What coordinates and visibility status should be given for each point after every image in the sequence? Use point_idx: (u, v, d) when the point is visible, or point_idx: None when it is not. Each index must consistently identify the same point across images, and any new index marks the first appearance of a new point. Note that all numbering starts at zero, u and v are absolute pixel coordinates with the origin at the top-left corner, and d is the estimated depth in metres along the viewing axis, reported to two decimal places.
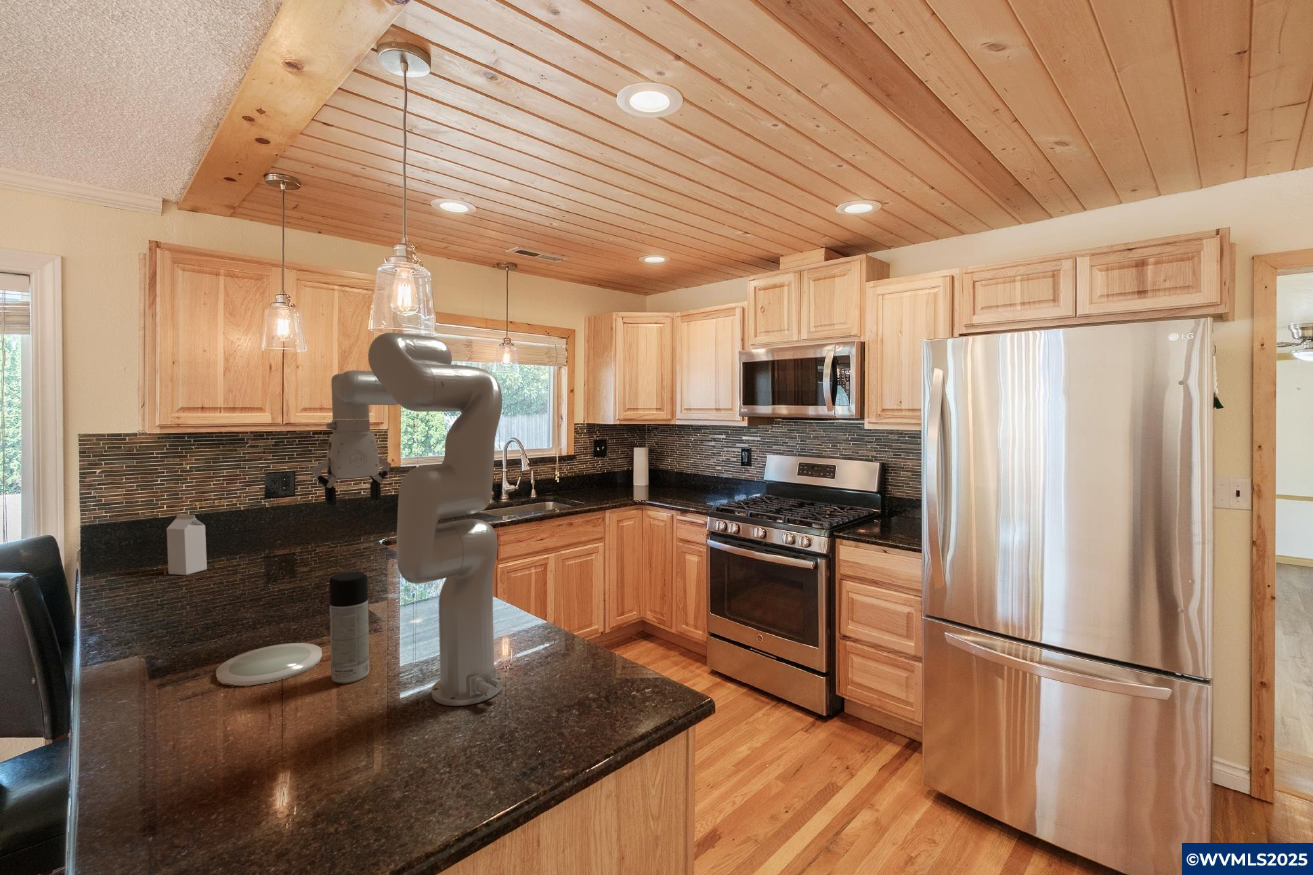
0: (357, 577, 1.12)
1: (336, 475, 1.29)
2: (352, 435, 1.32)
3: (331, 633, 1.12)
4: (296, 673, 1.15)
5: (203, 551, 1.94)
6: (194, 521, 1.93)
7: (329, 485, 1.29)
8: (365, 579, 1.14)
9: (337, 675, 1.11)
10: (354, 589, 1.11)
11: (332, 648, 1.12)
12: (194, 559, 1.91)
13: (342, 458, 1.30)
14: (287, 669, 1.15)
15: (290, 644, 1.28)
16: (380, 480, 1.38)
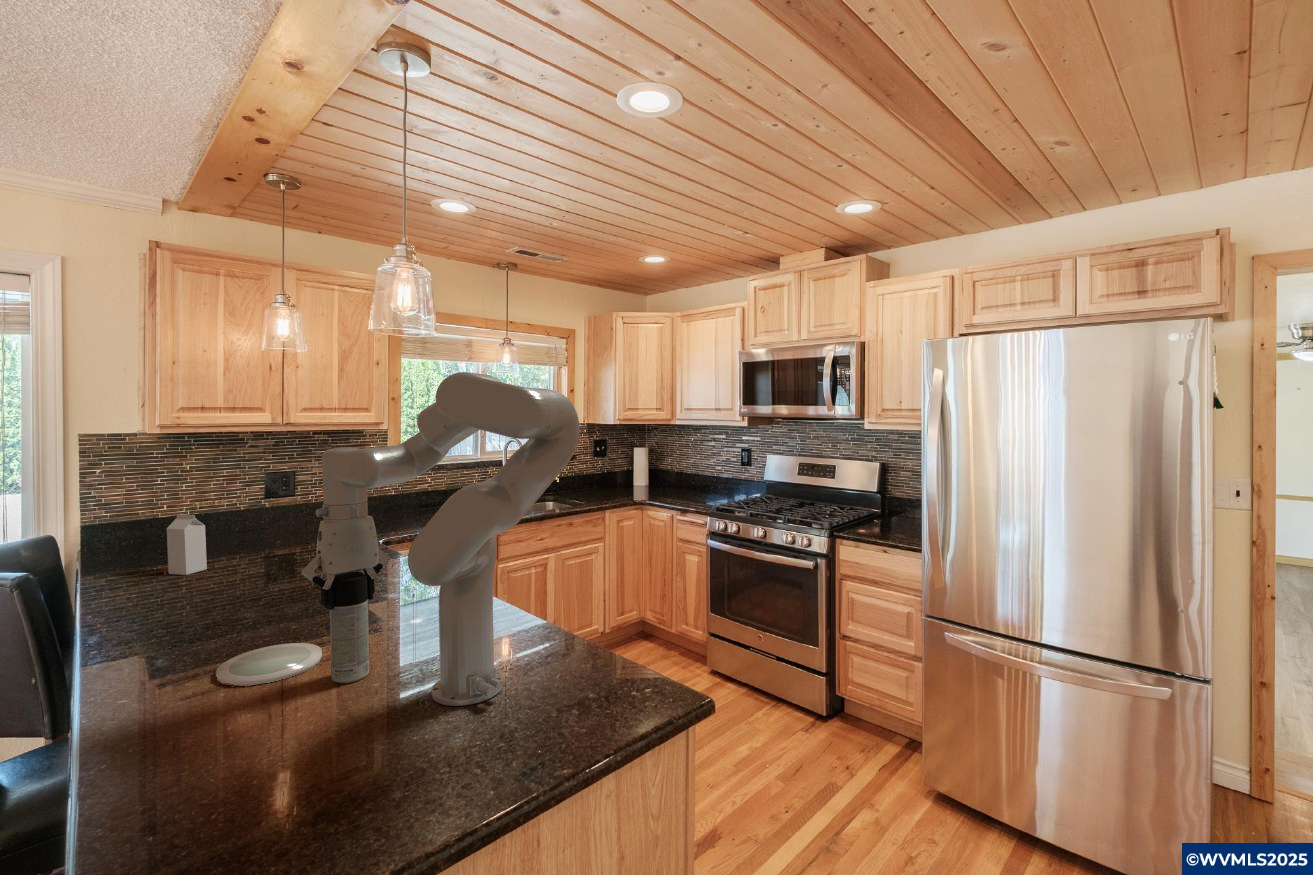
0: (357, 577, 1.12)
1: (327, 572, 1.08)
2: (347, 522, 1.11)
3: (331, 633, 1.12)
4: (296, 673, 1.15)
5: (203, 551, 1.94)
6: (194, 521, 1.93)
7: (326, 586, 1.09)
8: (365, 579, 1.14)
9: (337, 675, 1.11)
10: (354, 589, 1.11)
11: (331, 648, 1.12)
12: (194, 559, 1.91)
13: (334, 552, 1.09)
14: (287, 669, 1.15)
15: (290, 644, 1.28)
16: (374, 576, 1.16)
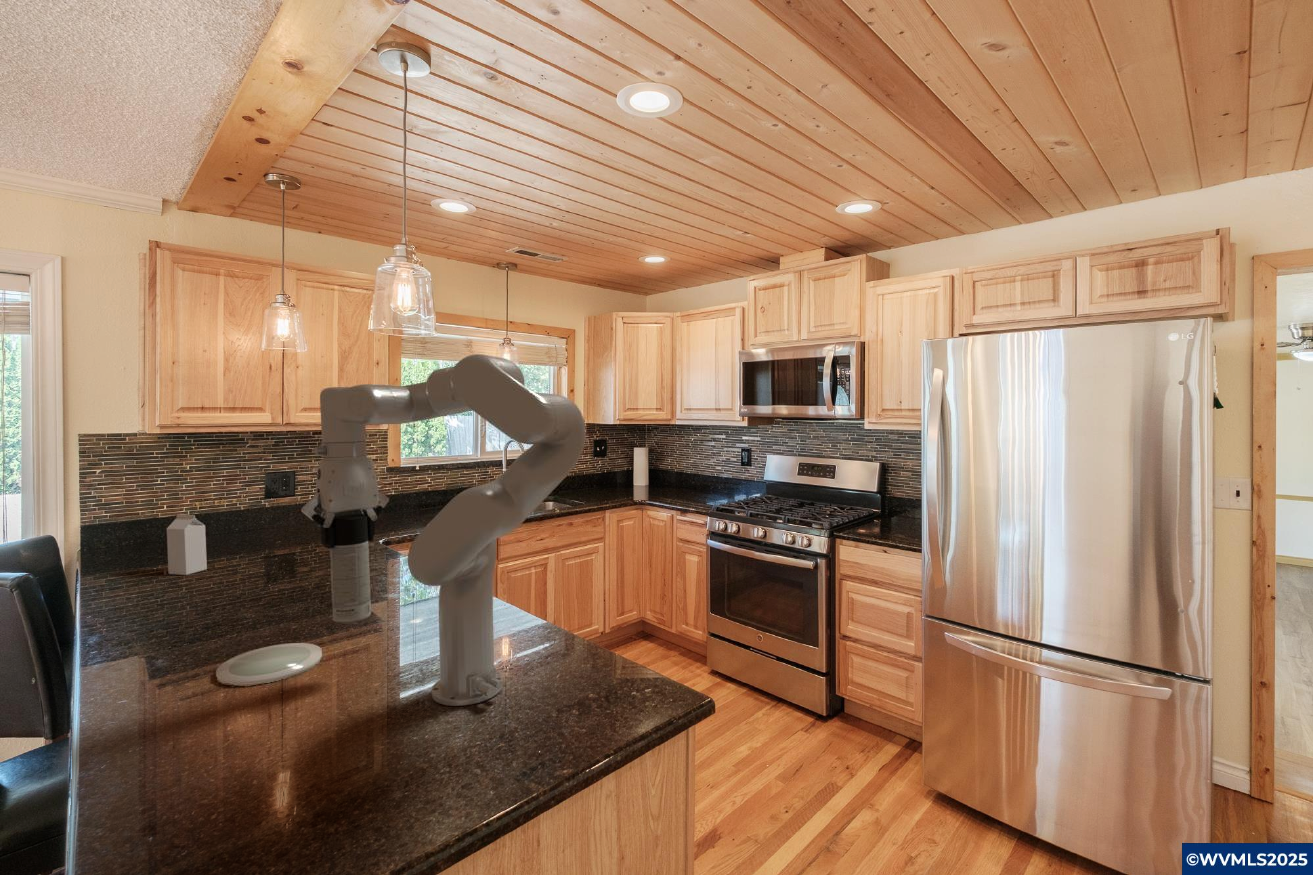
0: (357, 517, 1.12)
1: (326, 509, 1.08)
2: (346, 461, 1.10)
3: (332, 573, 1.11)
4: (296, 673, 1.15)
5: (203, 551, 1.94)
6: (194, 521, 1.93)
7: (326, 525, 1.09)
8: (365, 519, 1.13)
9: (339, 615, 1.10)
10: (354, 528, 1.11)
11: (332, 588, 1.11)
12: (194, 559, 1.91)
13: (333, 489, 1.08)
14: (287, 669, 1.15)
15: (290, 644, 1.28)
16: (374, 517, 1.16)
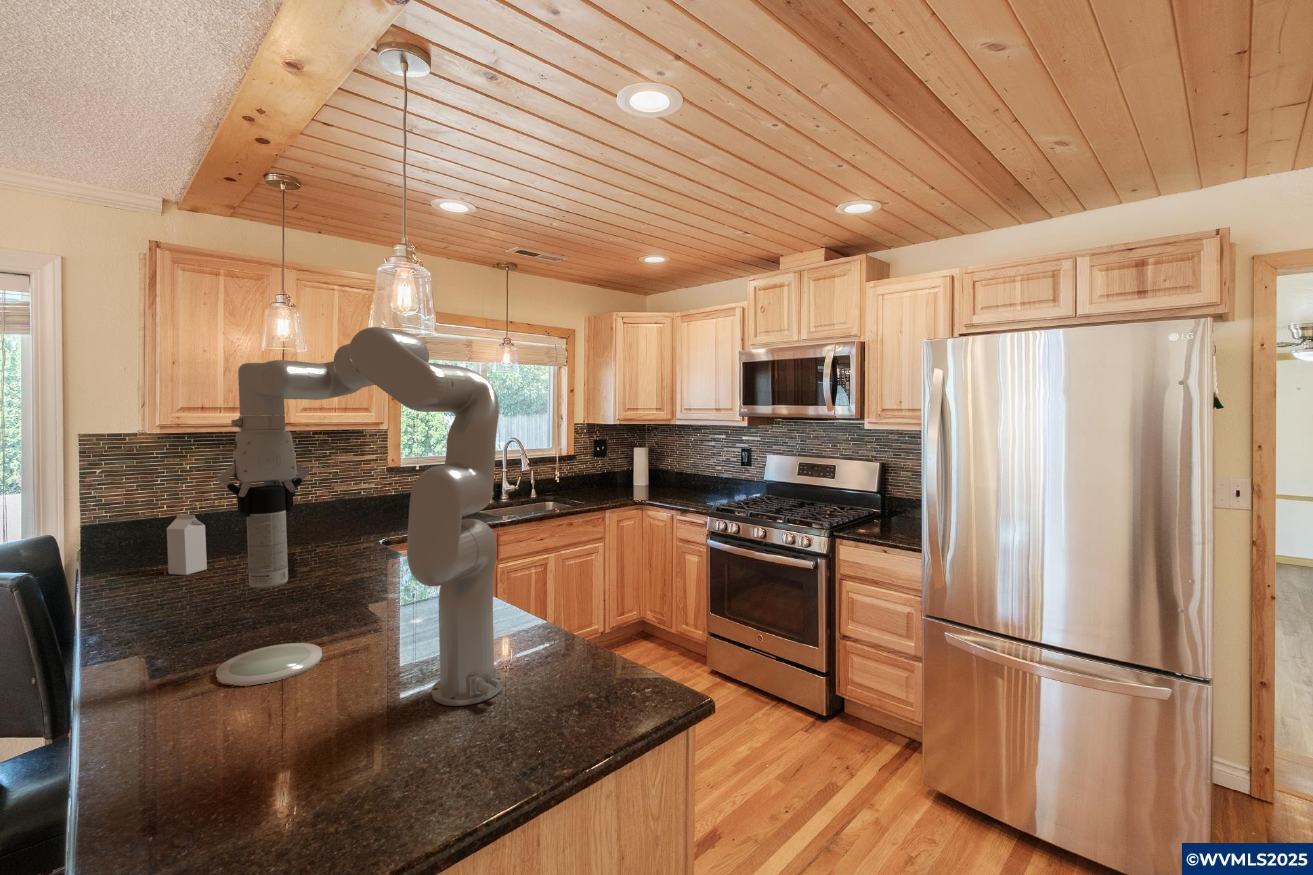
0: (273, 487, 1.17)
1: (241, 479, 1.13)
2: (262, 433, 1.15)
3: (248, 540, 1.16)
4: (296, 673, 1.15)
5: (203, 551, 1.94)
6: (194, 521, 1.93)
7: (241, 494, 1.14)
8: (282, 490, 1.18)
9: (254, 580, 1.16)
10: (269, 498, 1.16)
11: (248, 554, 1.16)
12: (194, 559, 1.91)
13: (249, 460, 1.13)
14: (287, 669, 1.15)
15: (290, 644, 1.28)
16: (292, 489, 1.21)
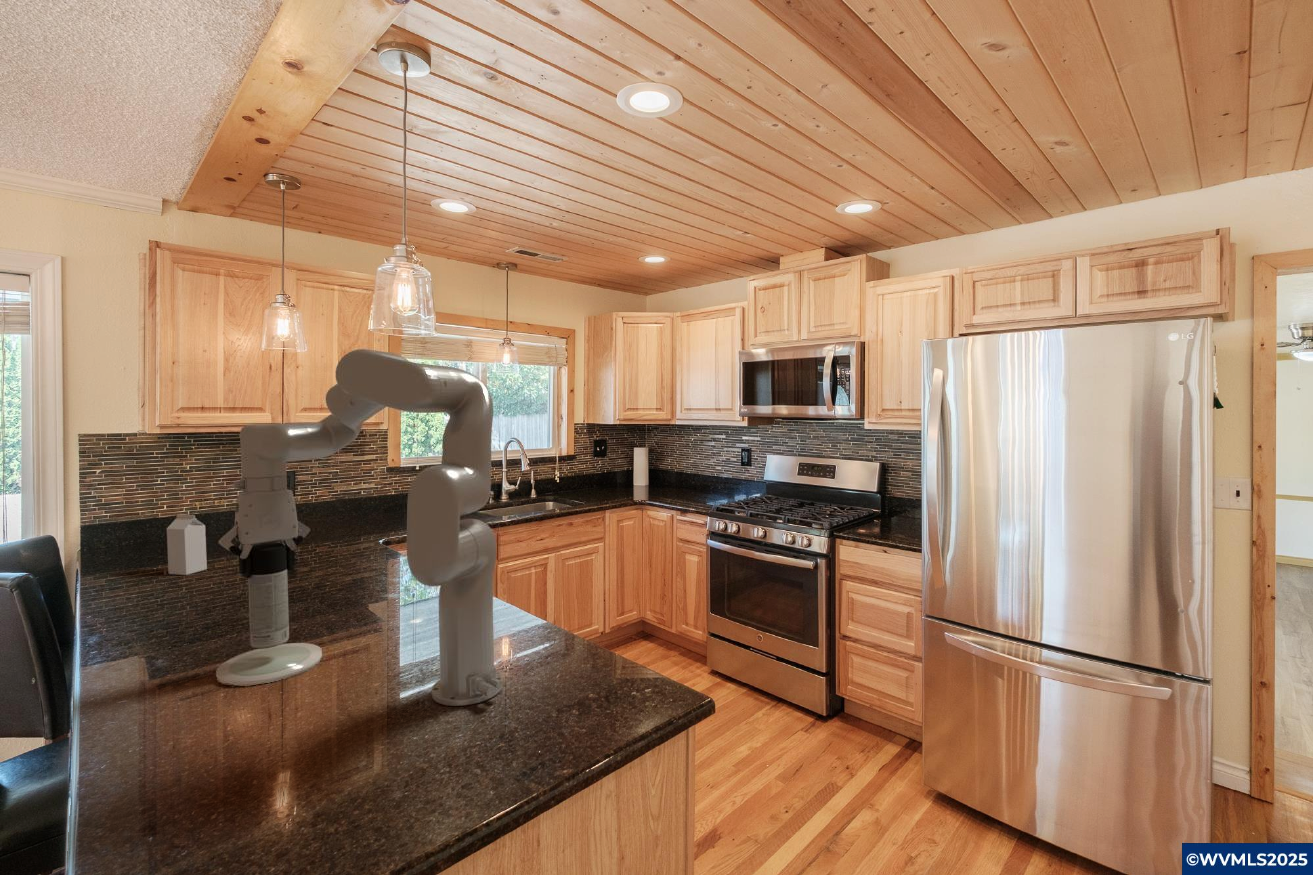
0: (274, 547, 1.17)
1: (243, 541, 1.13)
2: (264, 495, 1.16)
3: (249, 601, 1.17)
4: (296, 673, 1.15)
5: (203, 551, 1.94)
6: (194, 521, 1.93)
7: (243, 556, 1.14)
8: (283, 549, 1.19)
9: (255, 641, 1.16)
10: (271, 559, 1.16)
11: (250, 615, 1.17)
12: (194, 559, 1.91)
13: (250, 522, 1.14)
14: (287, 669, 1.15)
15: (290, 644, 1.28)
16: (294, 547, 1.21)
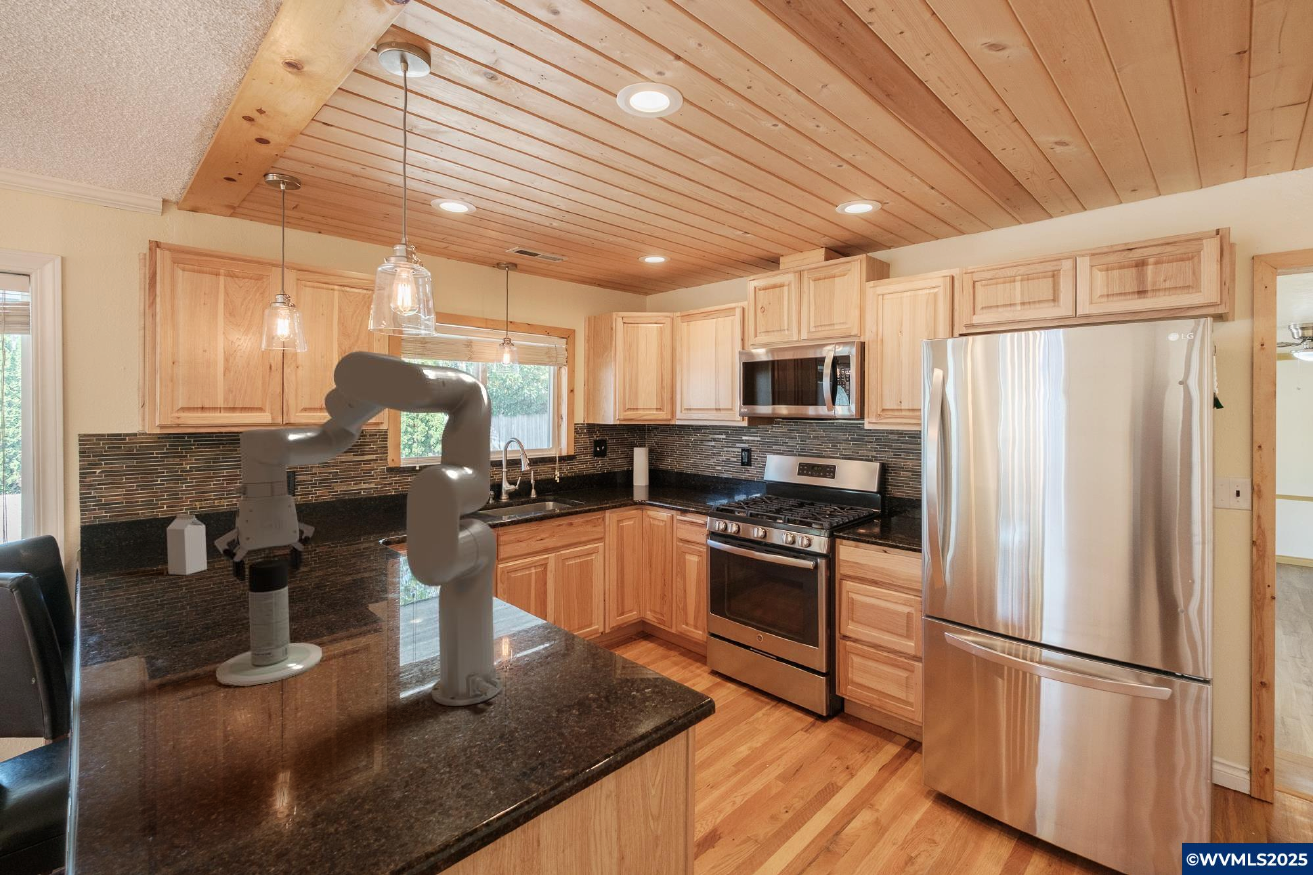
0: (275, 564, 1.17)
1: (244, 547, 1.13)
2: (264, 500, 1.16)
3: (250, 618, 1.17)
4: (296, 673, 1.15)
5: (203, 551, 1.94)
6: (194, 521, 1.93)
7: (237, 559, 1.13)
8: (284, 566, 1.19)
9: (256, 658, 1.16)
10: (272, 576, 1.16)
11: (250, 632, 1.17)
12: (194, 559, 1.91)
13: (251, 528, 1.14)
14: (287, 669, 1.15)
15: (290, 644, 1.28)
16: (301, 547, 1.22)
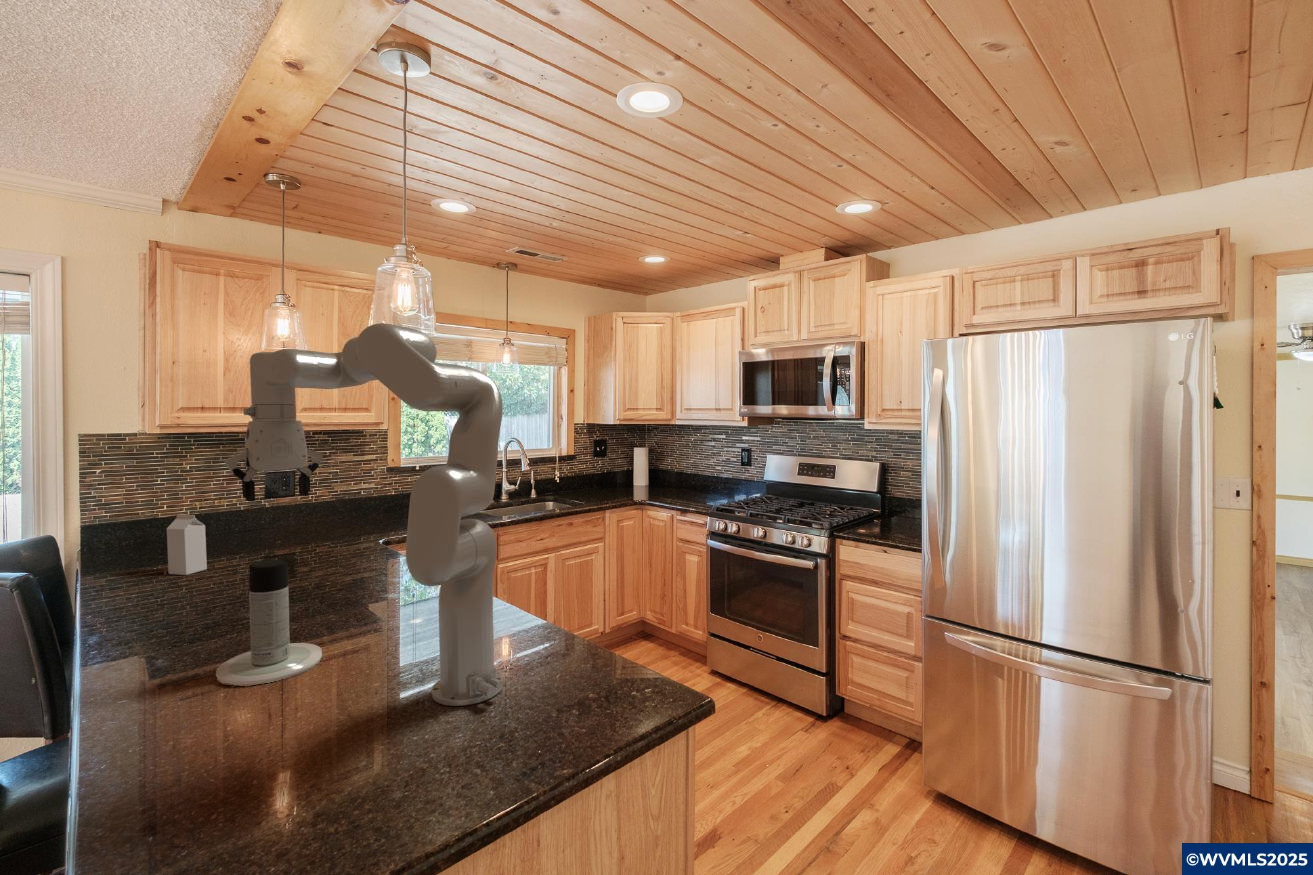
0: (276, 564, 1.17)
1: (254, 467, 1.14)
2: (274, 422, 1.16)
3: (250, 618, 1.17)
4: (296, 673, 1.15)
5: (203, 551, 1.94)
6: (194, 521, 1.93)
7: (246, 479, 1.14)
8: (284, 566, 1.19)
9: (256, 658, 1.16)
10: (272, 576, 1.16)
11: (251, 632, 1.16)
12: (194, 559, 1.91)
13: (261, 448, 1.15)
14: (287, 669, 1.15)
15: (290, 644, 1.28)
16: (309, 473, 1.23)
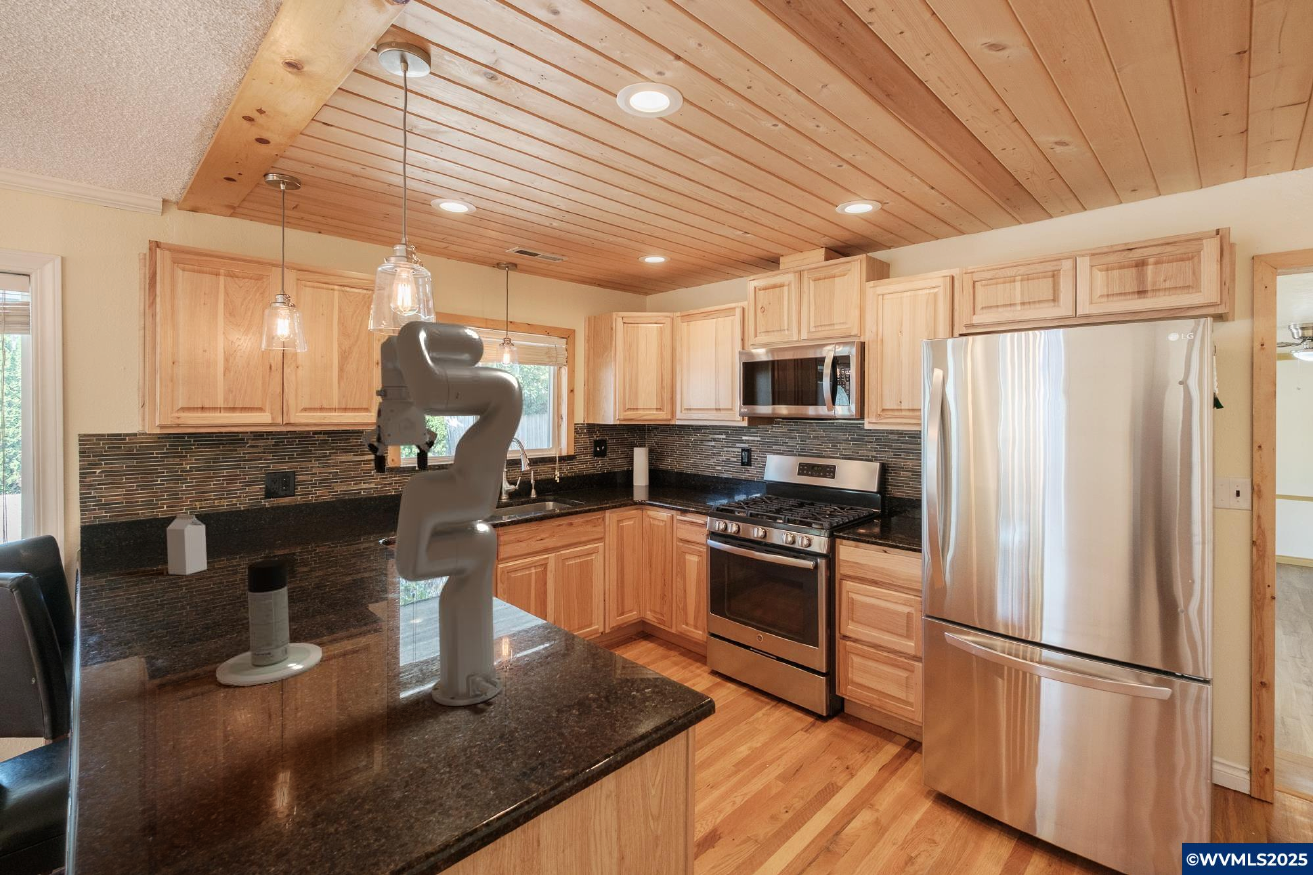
0: (274, 564, 1.17)
1: (386, 442, 1.27)
2: (401, 403, 1.30)
3: (249, 618, 1.16)
4: (296, 673, 1.15)
5: (203, 551, 1.94)
6: (194, 521, 1.93)
7: (379, 453, 1.28)
8: (283, 566, 1.18)
9: (256, 658, 1.16)
10: (271, 576, 1.16)
11: (250, 632, 1.16)
12: (194, 559, 1.91)
13: (391, 426, 1.28)
14: (287, 669, 1.15)
15: (290, 644, 1.28)
16: (427, 450, 1.36)
